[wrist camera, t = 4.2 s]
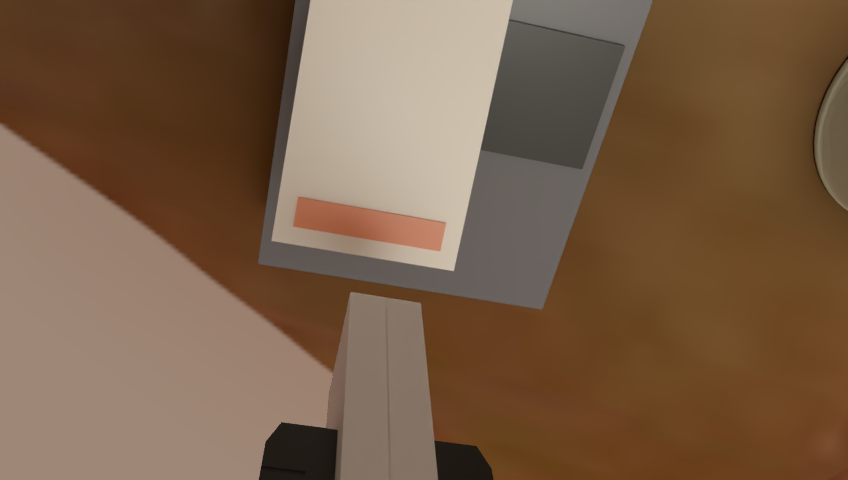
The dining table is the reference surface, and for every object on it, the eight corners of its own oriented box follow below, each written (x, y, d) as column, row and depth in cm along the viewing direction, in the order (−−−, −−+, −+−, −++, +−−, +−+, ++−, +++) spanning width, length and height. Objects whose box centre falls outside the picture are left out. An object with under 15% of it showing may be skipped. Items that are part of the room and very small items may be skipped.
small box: (330, -106, 20) (329, -120, 18) (513, -61, 20) (529, -71, 19) (275, 227, 22) (271, 241, 20) (445, 255, 22) (454, 272, 21)
